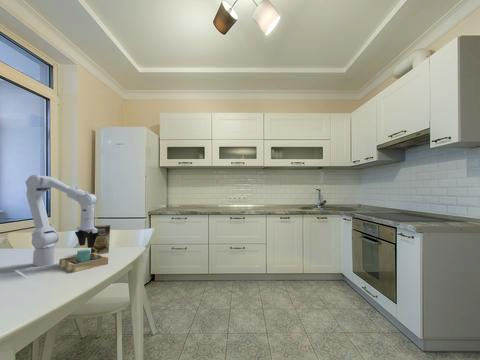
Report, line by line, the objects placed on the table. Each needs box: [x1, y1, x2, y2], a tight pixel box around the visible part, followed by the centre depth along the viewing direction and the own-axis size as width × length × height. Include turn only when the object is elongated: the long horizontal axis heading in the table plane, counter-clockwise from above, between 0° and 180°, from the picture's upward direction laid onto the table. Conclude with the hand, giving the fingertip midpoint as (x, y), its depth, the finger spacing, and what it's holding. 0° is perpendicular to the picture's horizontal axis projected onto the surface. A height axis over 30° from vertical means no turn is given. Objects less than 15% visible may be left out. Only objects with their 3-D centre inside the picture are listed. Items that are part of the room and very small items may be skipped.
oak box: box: [58, 252, 109, 274], centre depth 113 cm, size 15×15×4 cm
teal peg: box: [76, 248, 91, 262], centre depth 113 cm, size 4×4×7 cm
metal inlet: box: [70, 257, 97, 264], centre depth 113 cm, size 8×8×2 cm
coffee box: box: [90, 224, 111, 255], centre depth 137 cm, size 9×6×16 cm
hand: (86, 246), depth 115 cm, fingers open, 7 cm apart
